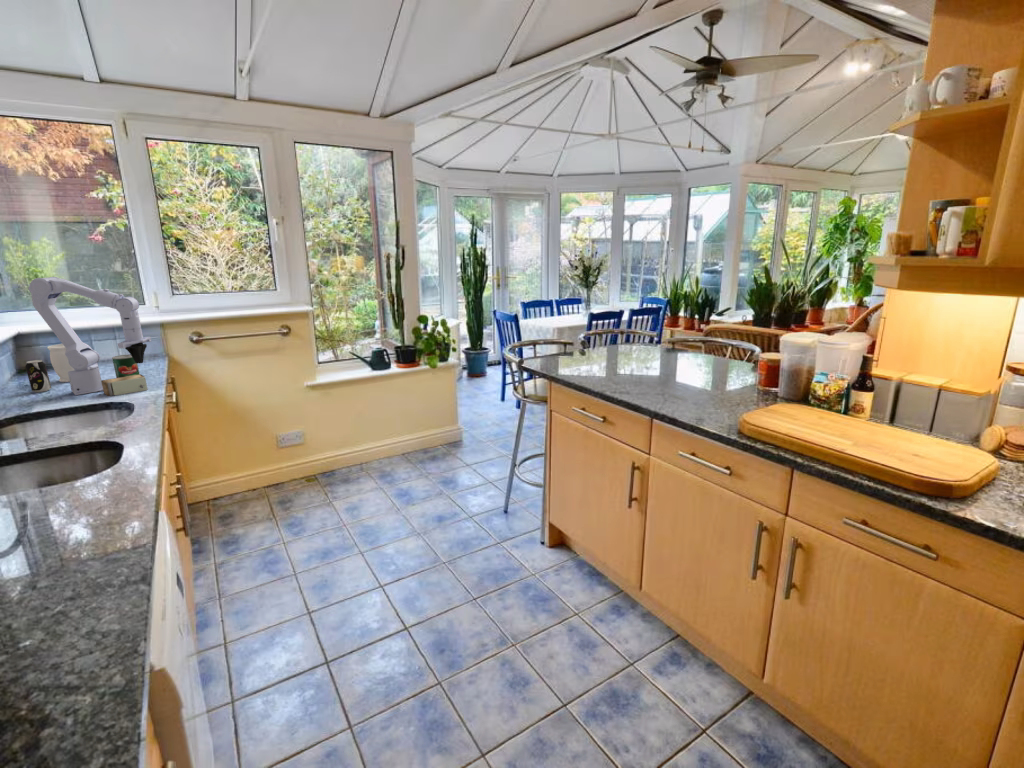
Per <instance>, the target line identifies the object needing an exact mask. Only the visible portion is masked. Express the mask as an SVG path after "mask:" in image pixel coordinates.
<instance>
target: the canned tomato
mask: <svg viewBox="0 0 1024 768" xmlns="http://www.w3.org/2000/svg"><path fill="white" fill-rule="evenodd" d="M111 360H112V363H113V369H114V373H115V378H120V377H127V376H133V375H139V374H140V370H139V365H138V364H139V363H135V361H134V359H133V357H132V356H131V354H130V353H129V354H119V355H116V356H113V357H111Z"/></svg>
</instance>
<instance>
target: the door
mask: <svg viewBox="0 0 1024 768" xmlns="http://www.w3.org/2000/svg"><path fill="white" fill-rule="evenodd" d="M111 384H112V387H111ZM107 385H108V389H109V394H110V396H109V397H113V396H114V395H115V396H119V395H126V394H131V393H137V392H142V391H148V390H149V389H148V385H147V379H146V377H145V376H144V377H143V378H136V379H130V380H123V381H117V382H111V383H107ZM112 388H113V392H114V395H113V392H112Z"/></svg>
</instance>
